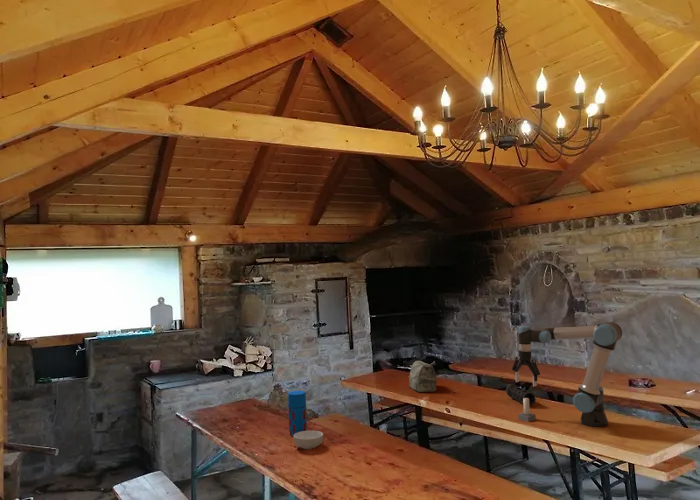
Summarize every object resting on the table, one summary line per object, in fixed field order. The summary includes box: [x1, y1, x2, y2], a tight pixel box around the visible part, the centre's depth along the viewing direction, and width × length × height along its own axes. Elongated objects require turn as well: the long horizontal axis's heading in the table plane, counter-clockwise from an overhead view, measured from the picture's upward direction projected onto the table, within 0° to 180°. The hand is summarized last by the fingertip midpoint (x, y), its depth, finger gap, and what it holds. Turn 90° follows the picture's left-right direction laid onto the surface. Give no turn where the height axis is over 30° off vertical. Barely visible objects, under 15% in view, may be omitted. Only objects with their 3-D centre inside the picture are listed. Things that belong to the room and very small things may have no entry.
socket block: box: [517, 412, 537, 423], centre depth 326 cm, size 7×7×3 cm
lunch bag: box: [408, 360, 438, 393], centre depth 417 cm, size 26×18×22 cm
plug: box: [523, 398, 531, 416], centre depth 326 cm, size 4×4×13 cm
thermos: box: [287, 390, 308, 437], centre depth 315 cm, size 11×11×25 cm
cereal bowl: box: [293, 429, 324, 450], centre depth 290 cm, size 17×17×7 cm
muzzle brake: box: [505, 384, 537, 408], centre depth 366 cm, size 10×28×10 cm, turn 8°
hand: (526, 383), depth 327 cm, fingers open, 13 cm apart
